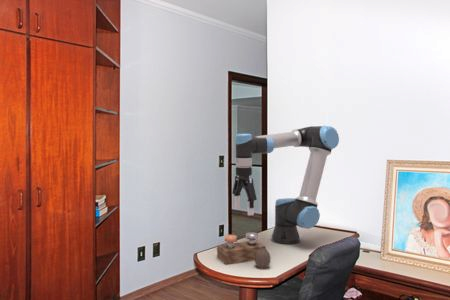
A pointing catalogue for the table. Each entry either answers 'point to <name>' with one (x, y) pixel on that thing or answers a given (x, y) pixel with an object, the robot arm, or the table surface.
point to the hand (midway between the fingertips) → (243, 212)
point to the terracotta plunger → (230, 240)
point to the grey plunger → (251, 237)
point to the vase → (262, 257)
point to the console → (237, 252)
